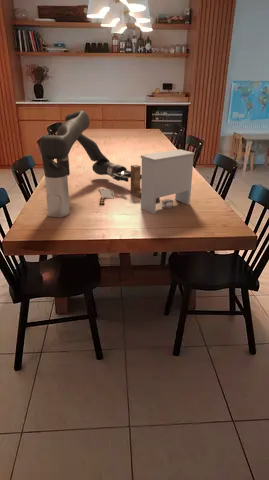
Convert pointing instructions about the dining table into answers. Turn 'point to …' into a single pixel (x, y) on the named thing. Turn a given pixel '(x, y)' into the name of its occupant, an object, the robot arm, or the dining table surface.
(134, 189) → the upright wooden plank
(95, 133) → the dining table surface
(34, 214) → the dining table surface
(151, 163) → the cabinet
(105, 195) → the kitchen cleaver
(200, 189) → the dining table surface
